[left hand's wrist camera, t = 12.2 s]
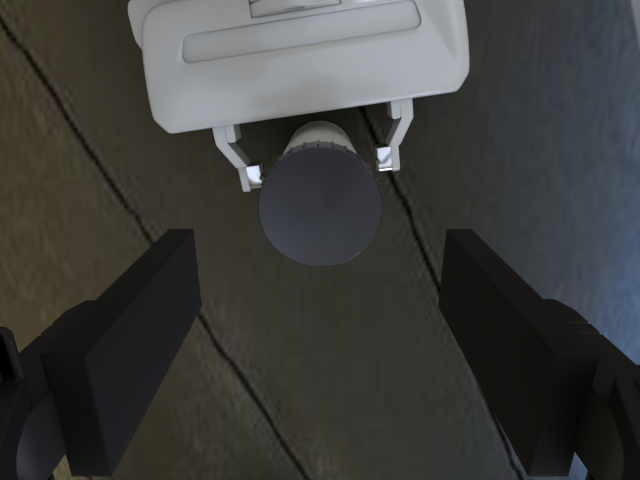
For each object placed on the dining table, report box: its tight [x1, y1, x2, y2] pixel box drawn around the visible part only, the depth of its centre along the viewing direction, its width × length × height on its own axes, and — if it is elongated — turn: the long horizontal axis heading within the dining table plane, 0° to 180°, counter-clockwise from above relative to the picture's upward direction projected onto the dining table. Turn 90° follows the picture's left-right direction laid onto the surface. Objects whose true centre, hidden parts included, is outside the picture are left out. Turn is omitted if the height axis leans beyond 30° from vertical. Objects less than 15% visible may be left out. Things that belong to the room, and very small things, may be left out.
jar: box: [283, 121, 356, 154], centre depth 28 cm, size 5×5×16 cm
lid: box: [258, 140, 382, 267], centre depth 21 cm, size 6×6×2 cm
